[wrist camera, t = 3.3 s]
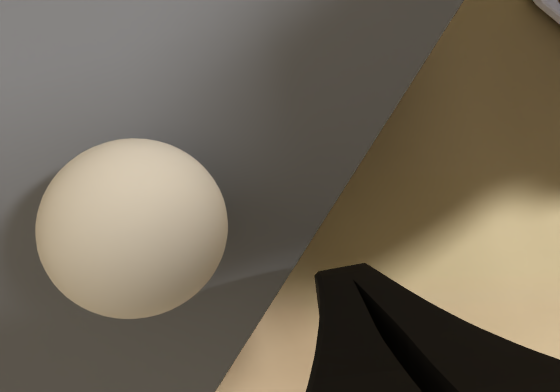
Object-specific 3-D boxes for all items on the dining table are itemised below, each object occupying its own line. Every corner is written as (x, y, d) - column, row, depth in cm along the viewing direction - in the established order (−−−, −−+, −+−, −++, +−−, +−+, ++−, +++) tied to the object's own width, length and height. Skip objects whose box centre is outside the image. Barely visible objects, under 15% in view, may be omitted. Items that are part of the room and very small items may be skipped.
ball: (254, 170, 9) (266, 226, 6) (190, 282, 10) (169, 387, 7) (115, 96, 8) (38, 116, 5) (57, 227, 9) (-42, 316, 6)
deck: (400, 17, 12) (464, -2, 9) (187, 371, 15) (174, 455, 12) (-151, -381, 8) (-417, -691, 5) (-274, 207, 11) (-480, 264, 8)
